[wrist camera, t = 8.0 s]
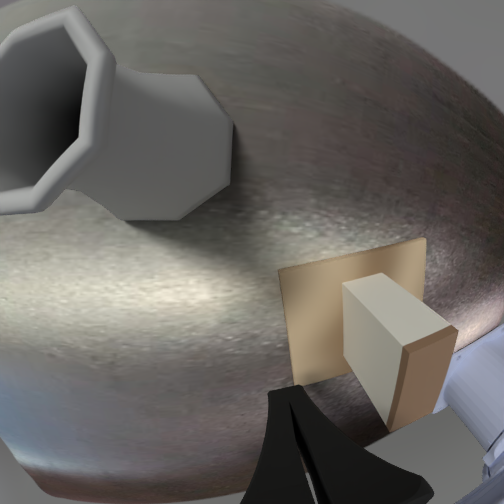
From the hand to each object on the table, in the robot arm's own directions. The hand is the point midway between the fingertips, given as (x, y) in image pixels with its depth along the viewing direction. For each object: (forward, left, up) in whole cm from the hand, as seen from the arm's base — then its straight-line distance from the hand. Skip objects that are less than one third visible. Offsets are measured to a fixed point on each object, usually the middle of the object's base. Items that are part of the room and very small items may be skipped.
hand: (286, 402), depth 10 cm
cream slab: (-5, 0, -5) cm, 7 cm away
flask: (+3, -11, -5) cm, 13 cm away
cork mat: (-6, 0, -5) cm, 8 cm away
